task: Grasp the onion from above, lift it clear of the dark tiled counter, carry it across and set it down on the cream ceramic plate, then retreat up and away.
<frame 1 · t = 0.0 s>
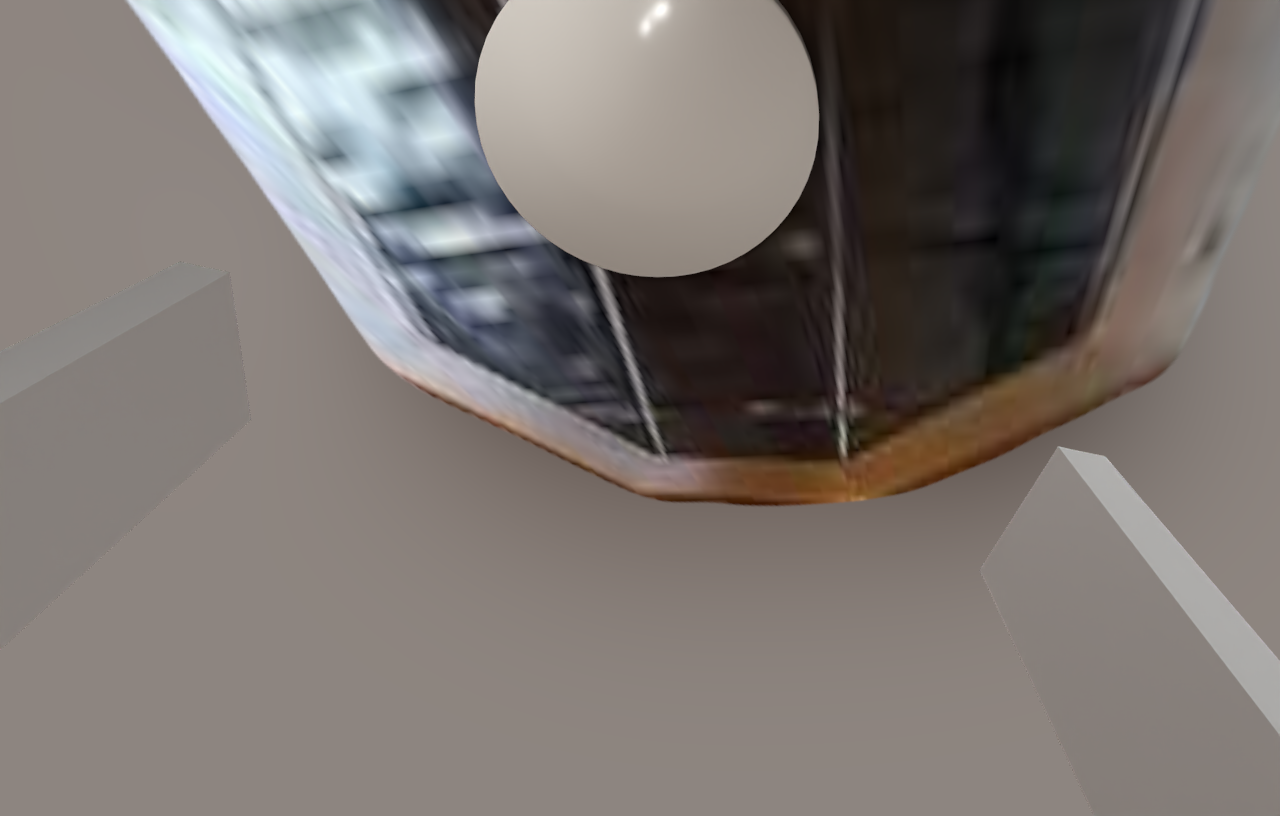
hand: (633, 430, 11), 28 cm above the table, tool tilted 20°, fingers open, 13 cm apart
plate: (645, 130, 36), on the table
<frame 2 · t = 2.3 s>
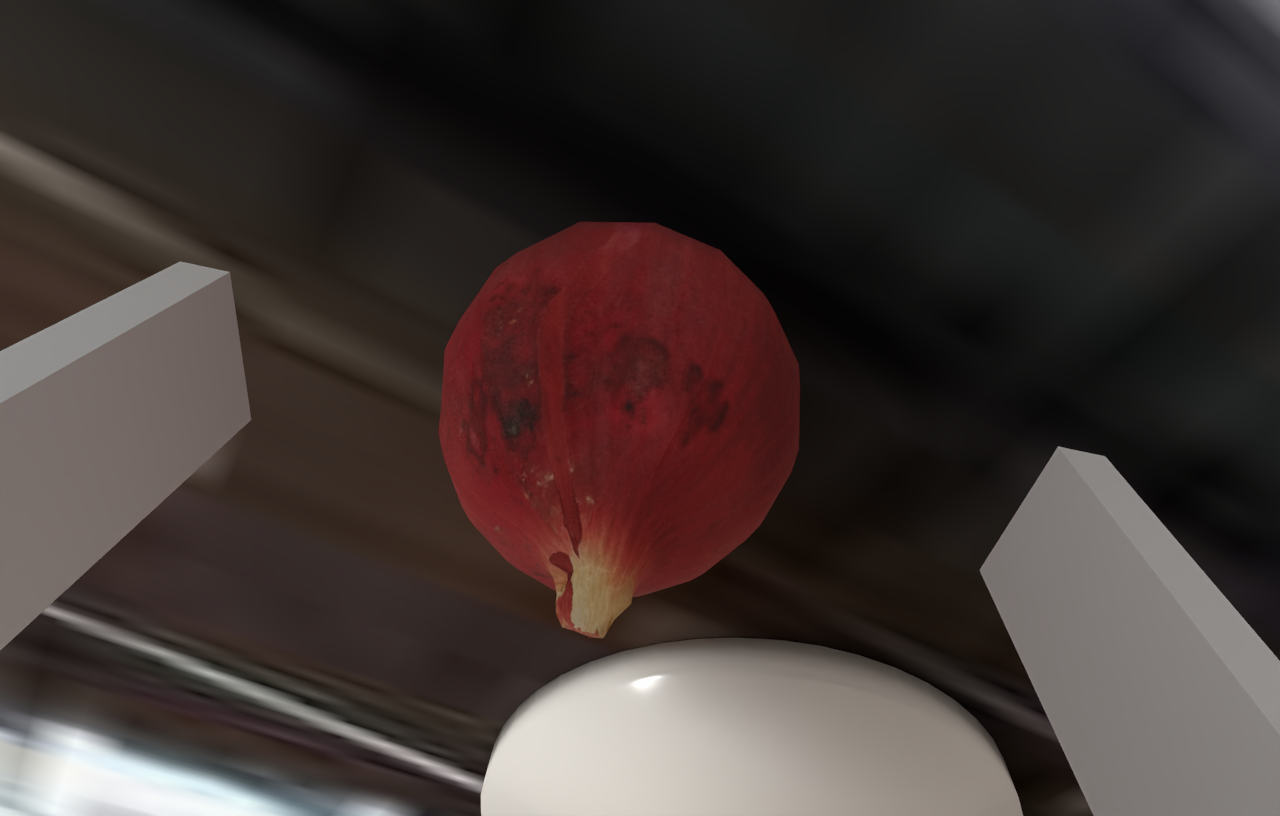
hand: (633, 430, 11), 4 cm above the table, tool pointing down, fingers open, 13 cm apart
onion: (639, 309, 15), on the table
plate: (738, 806, 24), on the table
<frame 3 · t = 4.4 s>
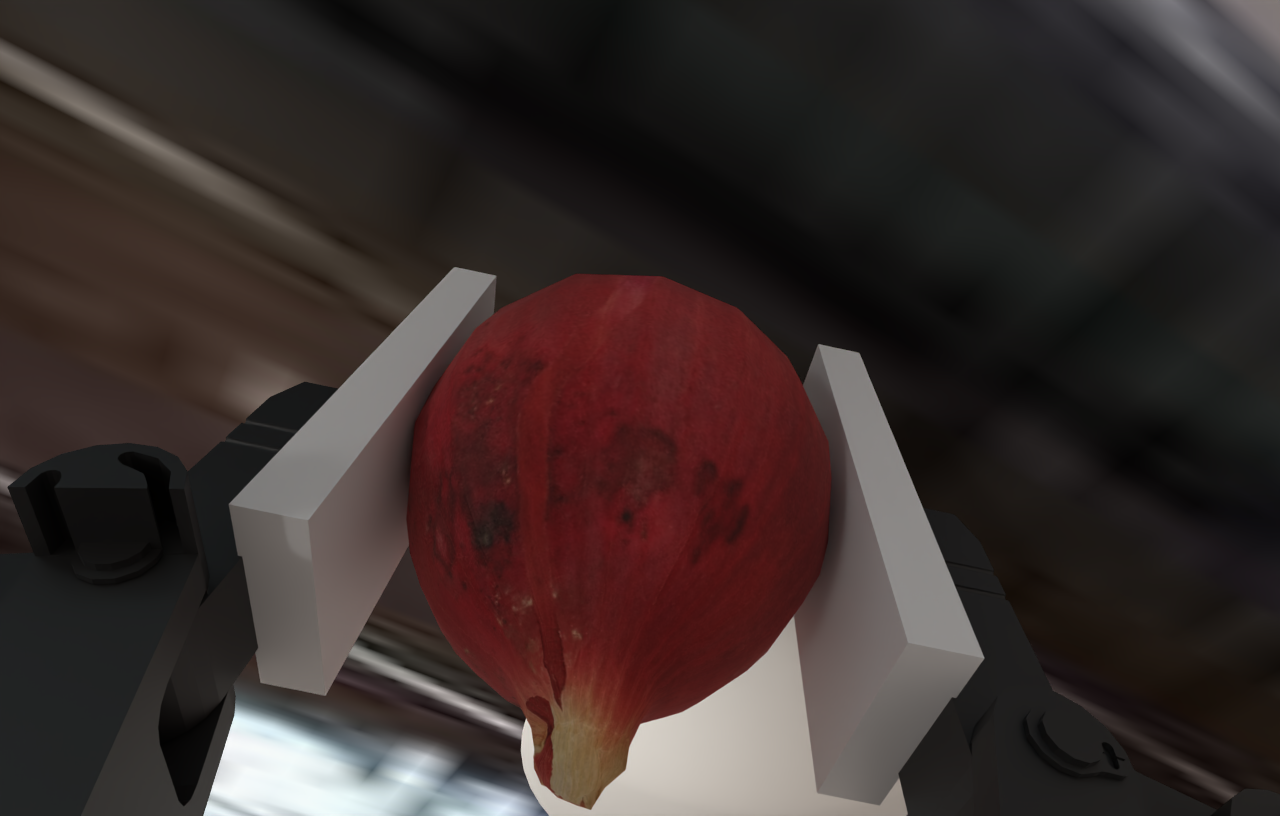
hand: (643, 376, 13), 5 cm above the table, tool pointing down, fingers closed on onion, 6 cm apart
onion: (645, 360, 13), point 5 cm above the table, touching gripper
plate: (753, 753, 27), on the table
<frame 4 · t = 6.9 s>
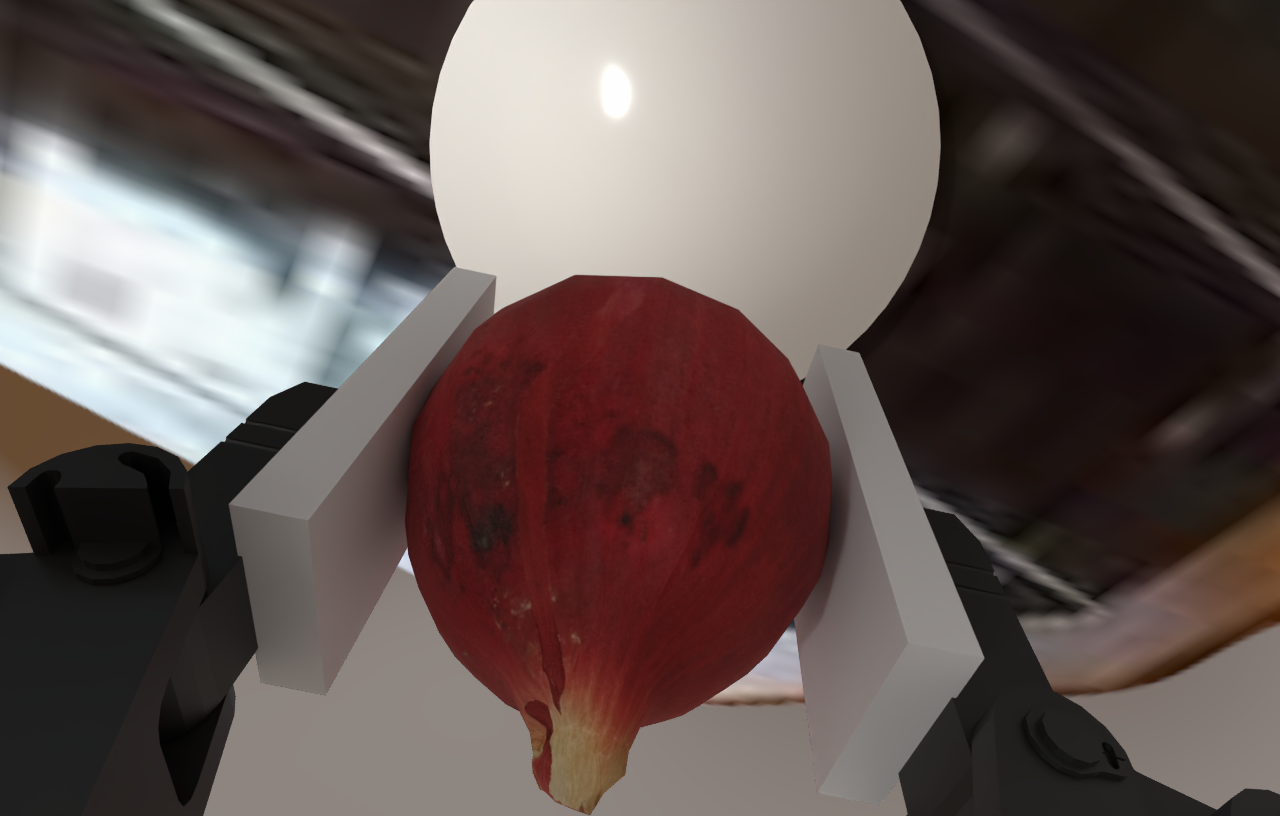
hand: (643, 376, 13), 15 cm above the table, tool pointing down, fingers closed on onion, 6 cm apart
onion: (644, 361, 13), point 14 cm above the table, touching gripper
plate: (677, 188, 25), on the table
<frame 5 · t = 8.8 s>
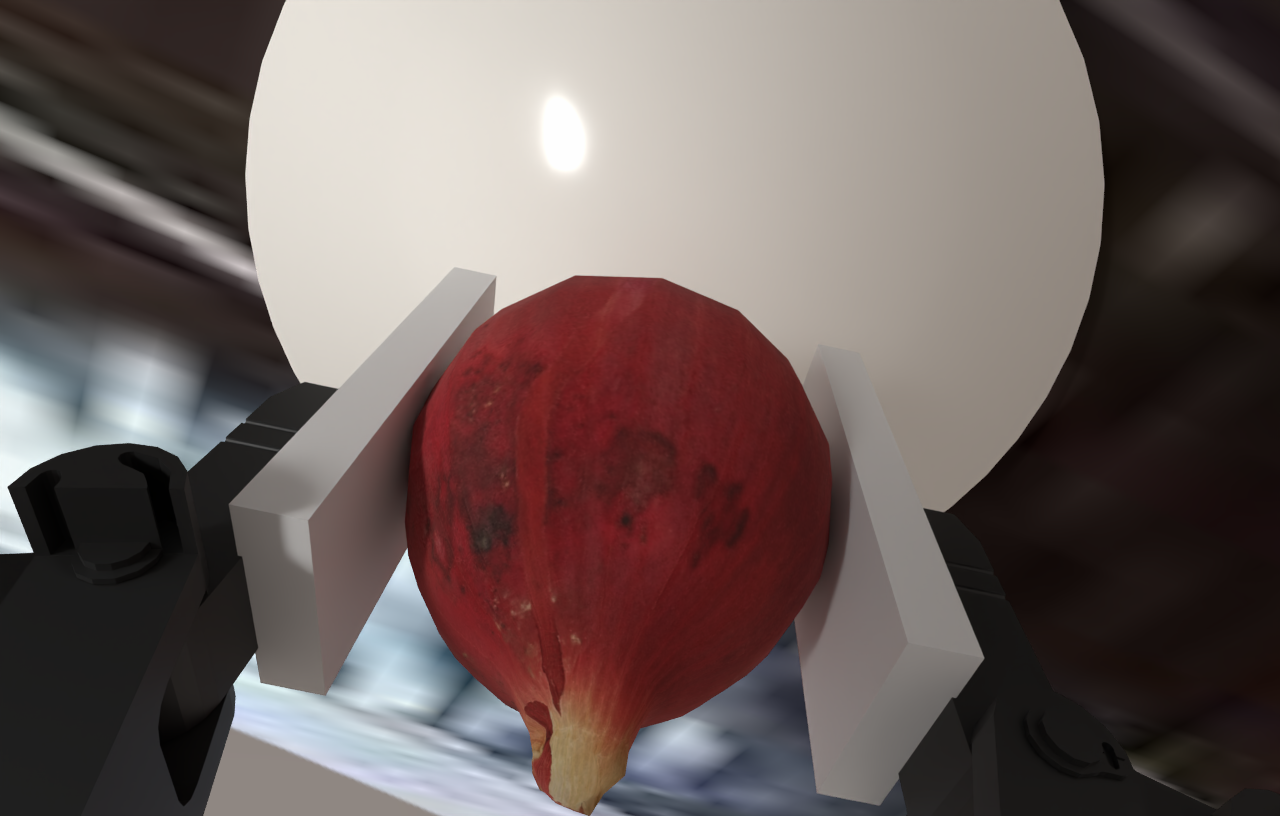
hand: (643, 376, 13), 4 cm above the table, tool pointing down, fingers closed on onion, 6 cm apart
onion: (644, 361, 13), point 3 cm above the table, touching gripper
plate: (656, 293, 16), on the table
when the fingers open (2 cm above the table, at t = 9.9 s): onion stays where it is, resting on plate.
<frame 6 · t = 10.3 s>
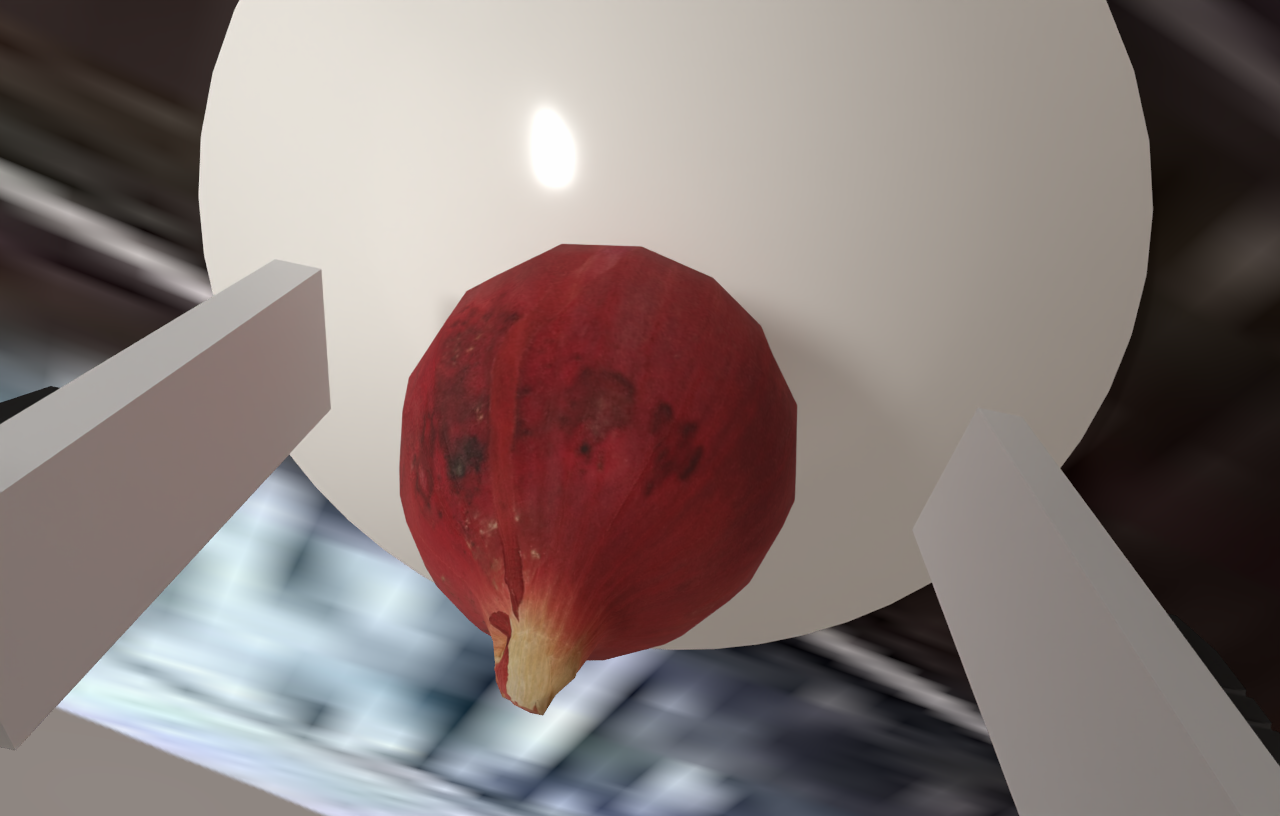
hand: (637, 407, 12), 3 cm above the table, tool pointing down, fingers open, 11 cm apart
onion: (639, 339, 14), point 1 cm above the table, touching plate
plate: (652, 324, 15), on the table
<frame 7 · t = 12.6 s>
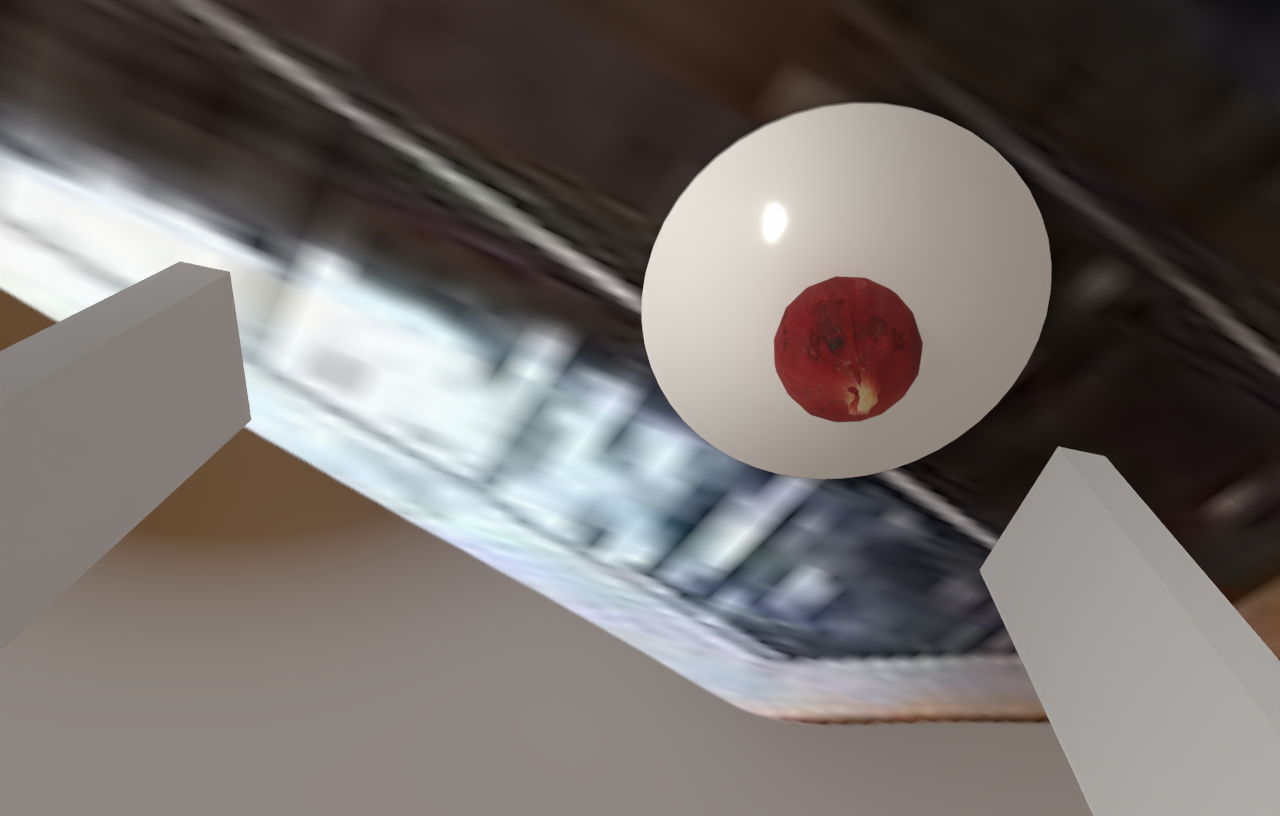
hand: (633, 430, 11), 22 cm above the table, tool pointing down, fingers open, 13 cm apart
onion: (832, 313, 31), point 1 cm above the table, touching plate
plate: (833, 309, 32), on the table
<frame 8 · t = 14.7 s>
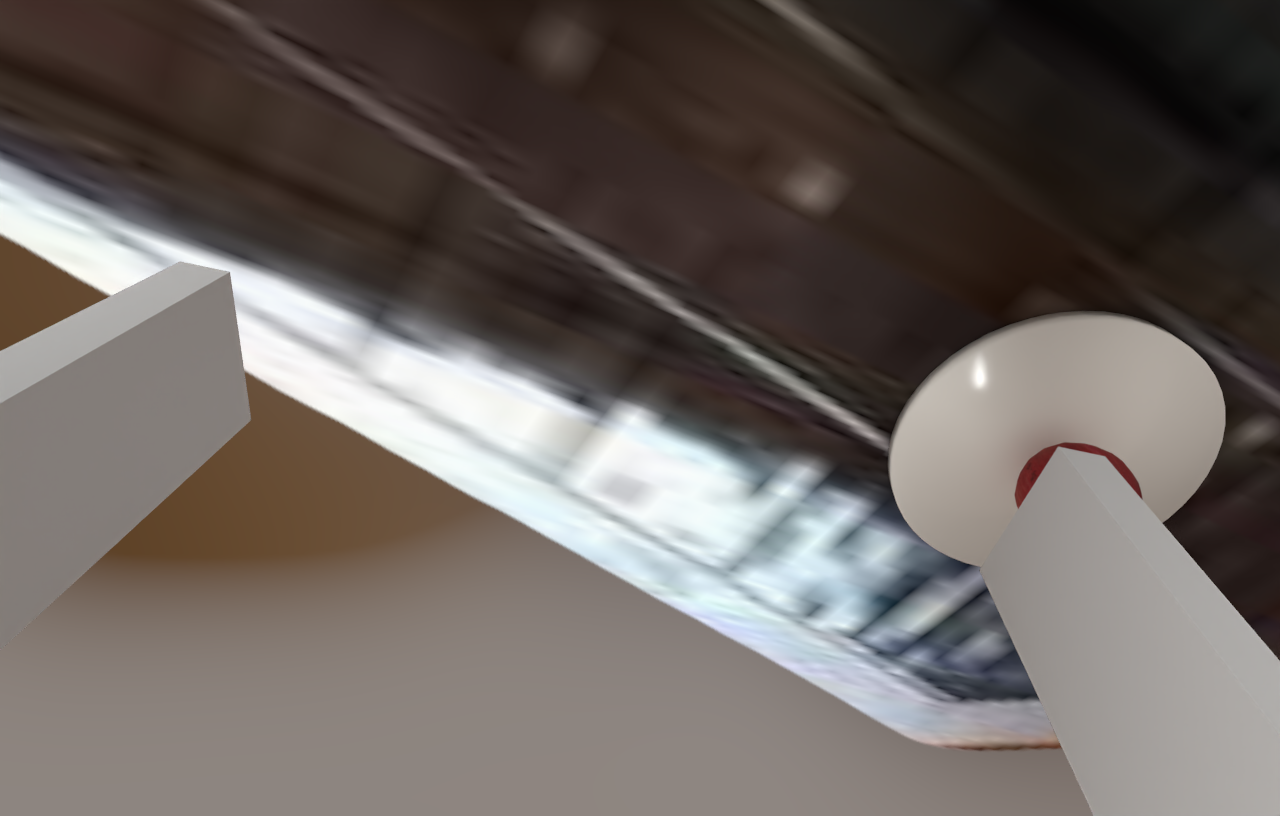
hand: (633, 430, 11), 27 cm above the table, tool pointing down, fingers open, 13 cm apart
onion: (1045, 455, 40), point 1 cm above the table, touching plate
plate: (1041, 448, 41), on the table
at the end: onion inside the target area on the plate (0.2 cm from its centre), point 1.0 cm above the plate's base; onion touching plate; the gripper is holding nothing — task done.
